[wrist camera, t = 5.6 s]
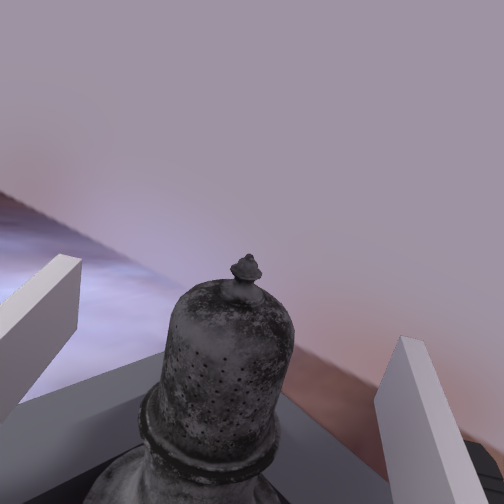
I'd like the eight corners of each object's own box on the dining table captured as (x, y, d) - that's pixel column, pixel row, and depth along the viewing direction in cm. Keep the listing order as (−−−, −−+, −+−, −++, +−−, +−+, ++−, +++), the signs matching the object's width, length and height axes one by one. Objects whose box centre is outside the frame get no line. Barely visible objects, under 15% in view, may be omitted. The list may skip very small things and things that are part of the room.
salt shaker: (191, 481, 19) (257, 194, 14) (299, 618, 15) (441, 295, 10) (37, 571, 15) (51, 211, 10) (133, 785, 11) (234, 388, 6)
